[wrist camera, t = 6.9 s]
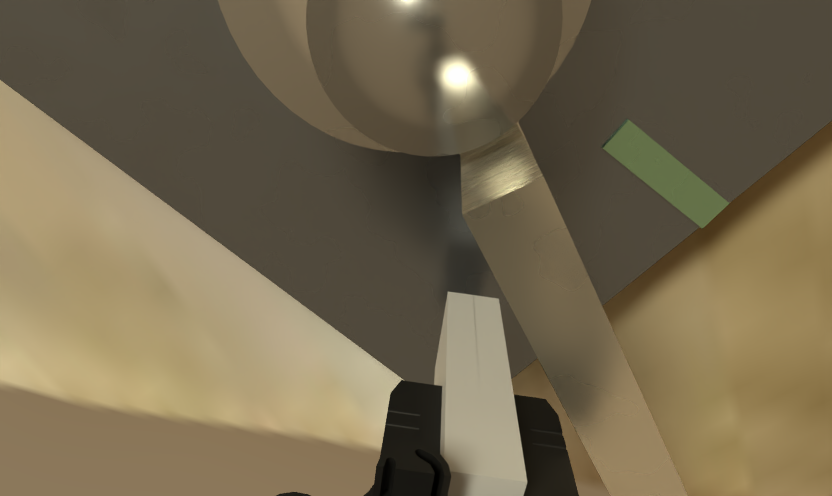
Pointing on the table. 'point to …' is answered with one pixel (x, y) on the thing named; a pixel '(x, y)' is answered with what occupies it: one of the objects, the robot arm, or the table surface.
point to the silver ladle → (472, 170)
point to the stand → (432, 175)
